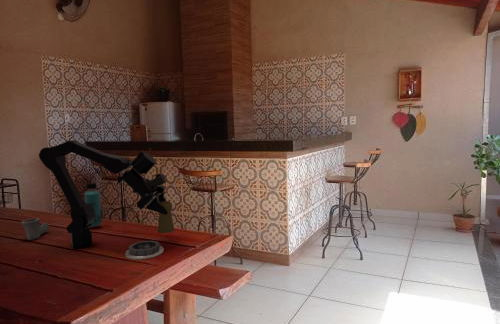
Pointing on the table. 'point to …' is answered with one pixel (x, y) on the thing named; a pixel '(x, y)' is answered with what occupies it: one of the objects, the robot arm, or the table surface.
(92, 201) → the beverage bottle
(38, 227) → the pipe
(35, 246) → the table surface
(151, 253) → the iron collar
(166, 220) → the cork
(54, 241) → the table surface
